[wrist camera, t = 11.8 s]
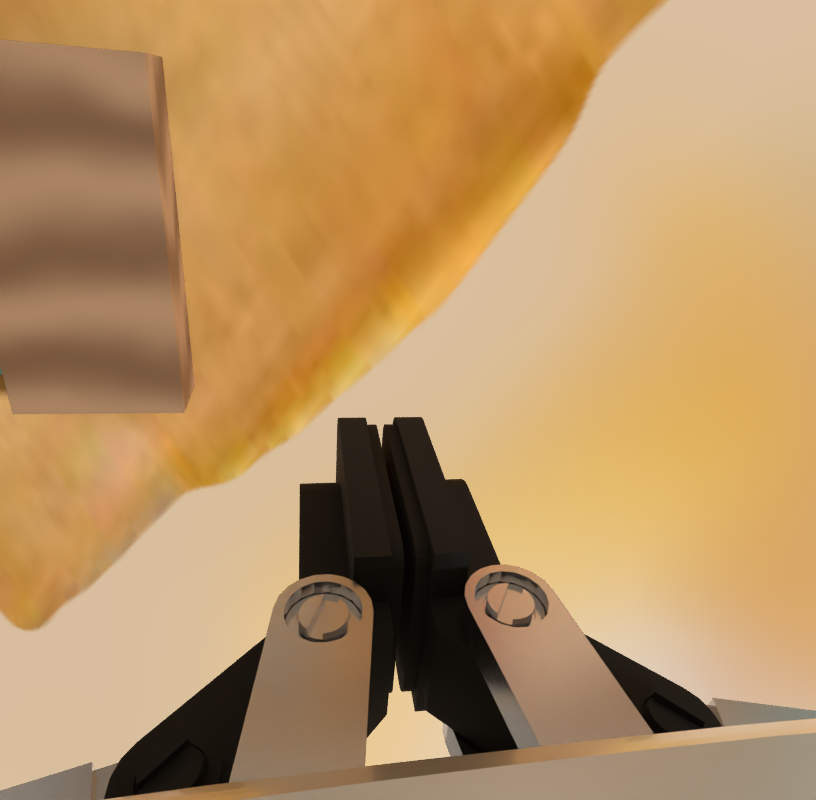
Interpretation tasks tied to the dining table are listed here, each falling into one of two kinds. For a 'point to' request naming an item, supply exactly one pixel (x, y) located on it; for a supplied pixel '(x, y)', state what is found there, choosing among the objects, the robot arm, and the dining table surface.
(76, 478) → the dining table surface
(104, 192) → the brown wooden block
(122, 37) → the dining table surface
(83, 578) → the dining table surface
